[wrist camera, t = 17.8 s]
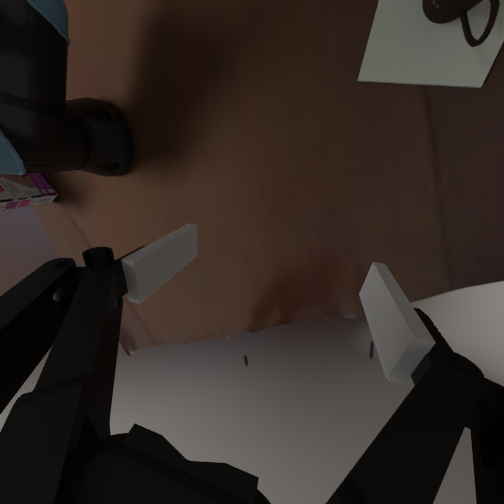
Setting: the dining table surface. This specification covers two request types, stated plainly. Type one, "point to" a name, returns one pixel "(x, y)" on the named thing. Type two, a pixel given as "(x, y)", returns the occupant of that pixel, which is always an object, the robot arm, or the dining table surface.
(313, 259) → the dining table surface
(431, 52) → the mat
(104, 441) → the robot arm
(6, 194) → the candy bar box
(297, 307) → the dining table surface
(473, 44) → the coffee mug
